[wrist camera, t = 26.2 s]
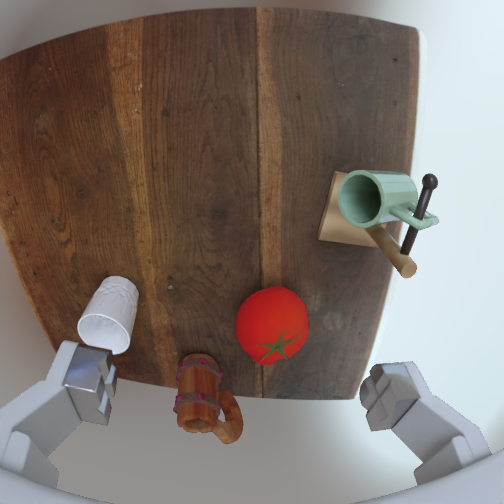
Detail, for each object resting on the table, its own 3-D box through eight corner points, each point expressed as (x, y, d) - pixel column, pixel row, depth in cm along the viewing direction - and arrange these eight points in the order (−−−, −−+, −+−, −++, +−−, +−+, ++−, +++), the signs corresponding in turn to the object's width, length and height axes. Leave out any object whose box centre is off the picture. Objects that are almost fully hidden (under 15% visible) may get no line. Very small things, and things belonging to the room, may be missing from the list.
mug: (167, 359, 57) (158, 427, 44) (195, 339, 54) (191, 411, 41) (222, 391, 63) (224, 453, 50) (250, 375, 61) (257, 440, 48)
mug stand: (375, 244, 48) (424, 308, 34) (316, 236, 46) (353, 306, 32) (404, 152, 40) (475, 191, 26) (343, 135, 39) (403, 168, 25)
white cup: (138, 271, 47) (122, 314, 38) (146, 311, 51) (135, 356, 42) (92, 272, 46) (70, 312, 37) (103, 310, 50) (87, 353, 41)
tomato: (223, 325, 53) (224, 372, 44) (248, 265, 48) (254, 310, 39) (284, 337, 56) (293, 382, 47) (315, 282, 50) (332, 326, 41)
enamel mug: (371, 207, 40) (331, 213, 35) (384, 165, 37) (345, 162, 32) (435, 242, 34) (406, 257, 28) (452, 197, 31) (427, 200, 26)
